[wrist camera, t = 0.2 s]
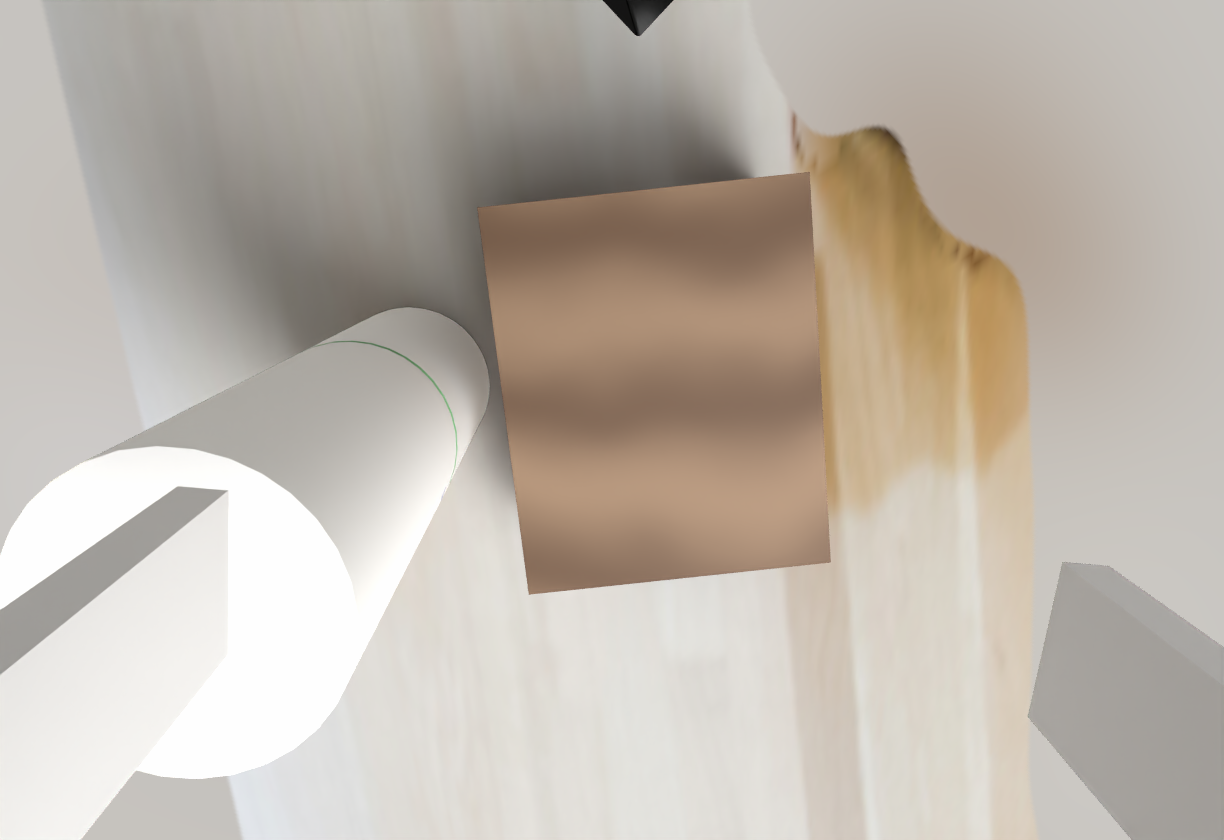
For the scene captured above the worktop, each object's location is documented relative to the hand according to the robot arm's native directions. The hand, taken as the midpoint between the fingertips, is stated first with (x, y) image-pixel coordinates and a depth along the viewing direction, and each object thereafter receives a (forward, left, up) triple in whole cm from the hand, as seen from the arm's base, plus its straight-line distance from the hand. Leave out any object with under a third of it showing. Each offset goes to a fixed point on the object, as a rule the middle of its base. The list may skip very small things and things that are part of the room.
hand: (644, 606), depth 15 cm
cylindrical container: (+1, -9, -29) cm, 30 cm away
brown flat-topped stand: (+1, +2, -29) cm, 29 cm away
